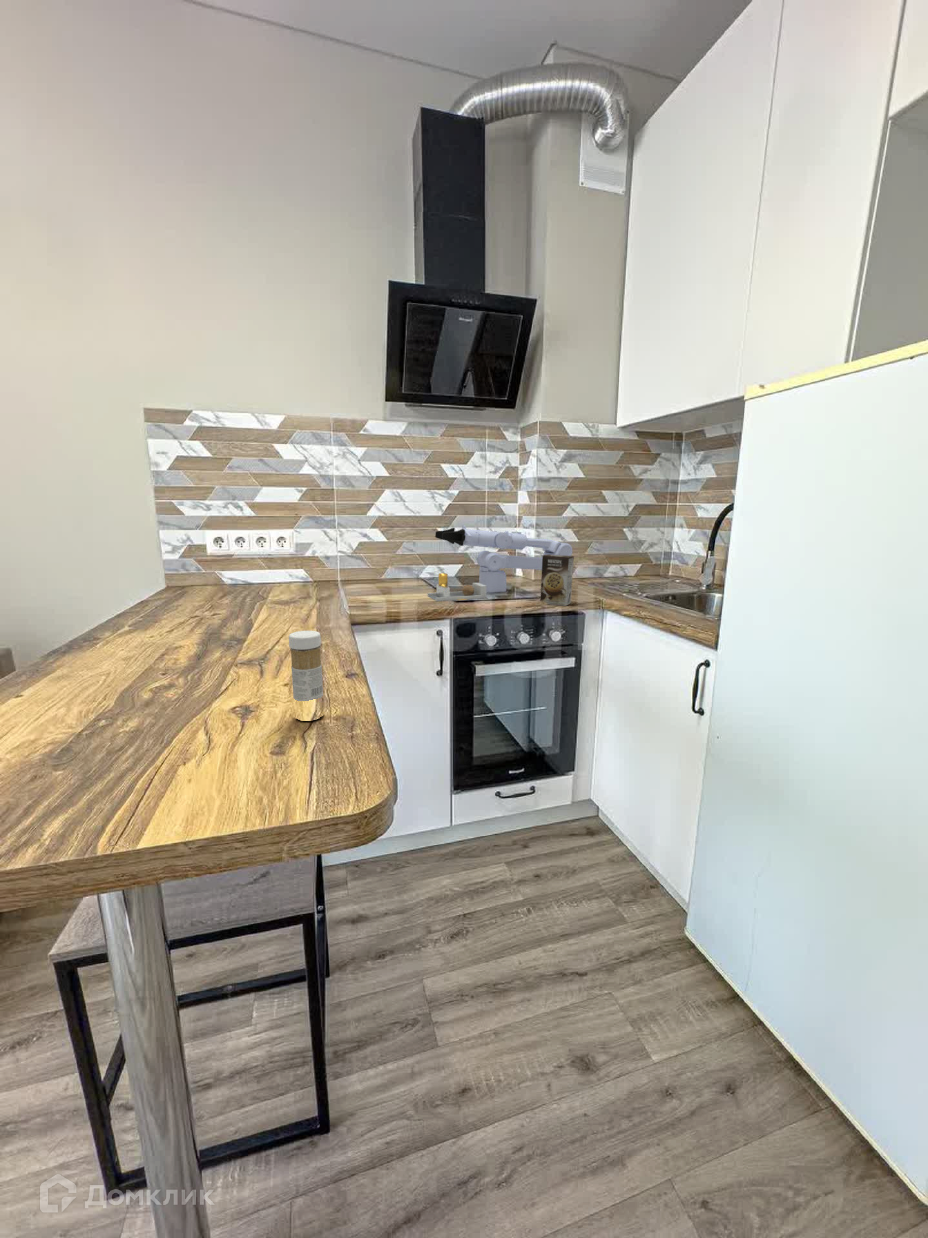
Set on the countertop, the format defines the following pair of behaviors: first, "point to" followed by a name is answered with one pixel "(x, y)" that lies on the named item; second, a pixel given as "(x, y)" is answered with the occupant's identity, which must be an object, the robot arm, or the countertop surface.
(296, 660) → the spice jar
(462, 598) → the cracker base
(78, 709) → the countertop surface
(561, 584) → the coffee box
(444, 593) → the cracker jaw
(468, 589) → the walnut
